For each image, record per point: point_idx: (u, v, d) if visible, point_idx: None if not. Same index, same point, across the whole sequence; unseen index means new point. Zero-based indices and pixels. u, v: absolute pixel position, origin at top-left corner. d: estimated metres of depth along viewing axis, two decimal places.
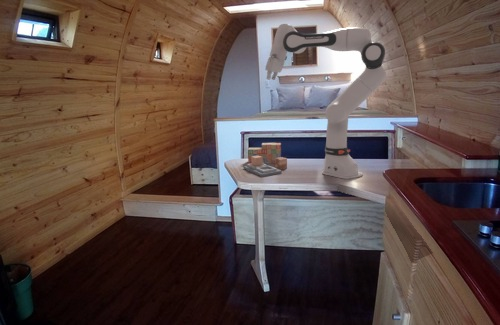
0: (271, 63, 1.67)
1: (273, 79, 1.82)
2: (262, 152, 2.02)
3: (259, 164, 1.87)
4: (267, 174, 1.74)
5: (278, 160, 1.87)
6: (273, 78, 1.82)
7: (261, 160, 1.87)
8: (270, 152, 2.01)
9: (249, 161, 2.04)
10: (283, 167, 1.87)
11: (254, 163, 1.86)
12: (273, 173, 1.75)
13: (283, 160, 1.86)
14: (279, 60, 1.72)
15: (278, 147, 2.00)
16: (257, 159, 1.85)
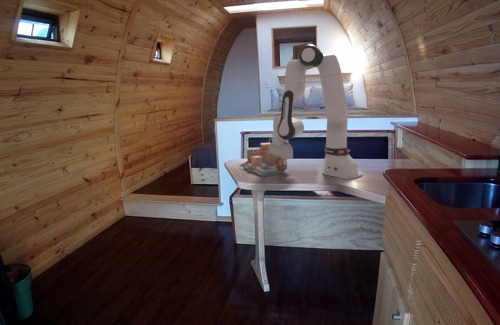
0: (291, 151, 1.79)
1: None
2: (261, 152, 2.02)
3: (259, 164, 1.87)
4: (267, 174, 1.74)
5: (278, 160, 1.87)
6: None
7: (261, 160, 1.87)
8: (269, 152, 2.02)
9: (248, 161, 2.04)
10: (283, 167, 1.87)
11: (254, 163, 1.86)
12: (273, 173, 1.75)
13: None
14: None
15: None
16: (257, 159, 1.85)
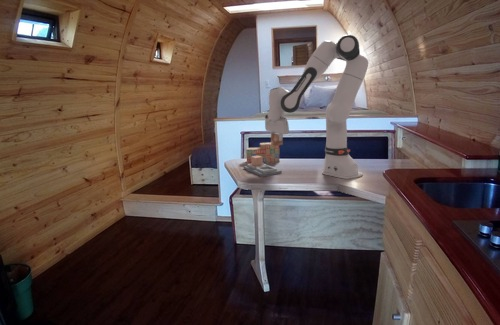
0: (287, 126, 1.73)
1: None
2: (261, 152, 2.02)
3: (259, 164, 1.87)
4: (267, 174, 1.74)
5: (274, 136, 1.81)
6: None
7: (261, 160, 1.87)
8: (269, 152, 2.02)
9: (248, 161, 2.04)
10: (279, 143, 1.82)
11: (254, 163, 1.86)
12: (273, 173, 1.75)
13: None
14: None
15: (276, 146, 2.02)
16: (257, 159, 1.85)
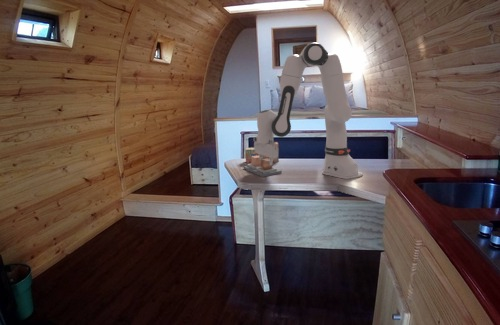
0: (276, 150, 1.69)
1: None
2: None
3: (259, 164, 1.87)
4: (267, 174, 1.74)
5: (263, 162, 1.77)
6: None
7: None
8: None
9: (247, 161, 2.04)
10: (268, 169, 1.78)
11: (254, 163, 1.86)
12: (273, 173, 1.75)
13: None
14: None
15: None
16: (257, 159, 1.85)
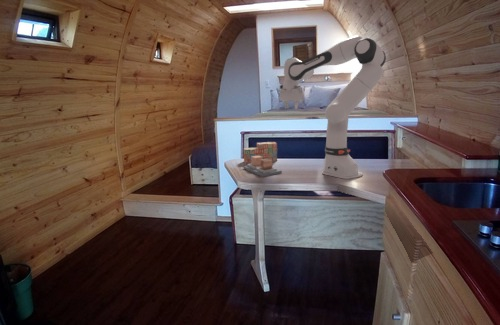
0: (302, 94, 1.87)
1: (288, 107, 2.01)
2: (259, 152, 2.03)
3: (259, 164, 1.87)
4: (267, 174, 1.74)
5: (263, 162, 1.77)
6: (287, 107, 2.01)
7: None
8: (267, 151, 2.04)
9: (246, 161, 2.03)
10: (268, 169, 1.78)
11: (254, 163, 1.86)
12: (273, 173, 1.75)
13: (268, 162, 1.77)
14: None
15: (274, 145, 2.04)
16: (257, 159, 1.85)
